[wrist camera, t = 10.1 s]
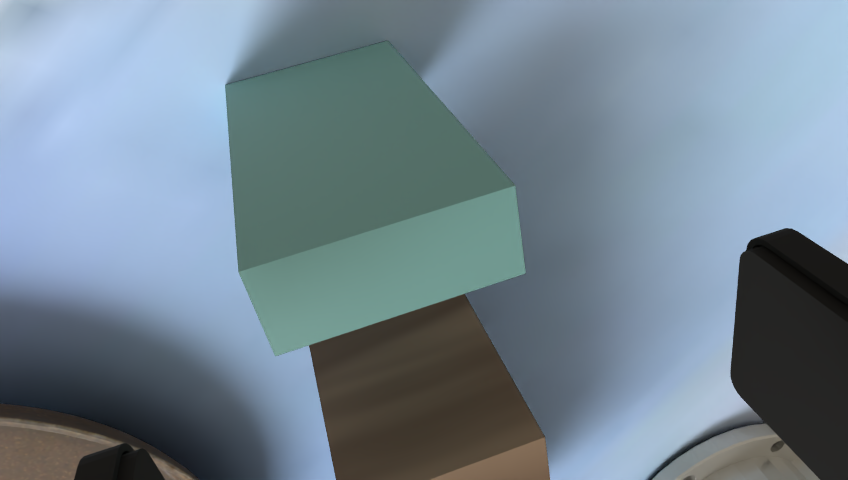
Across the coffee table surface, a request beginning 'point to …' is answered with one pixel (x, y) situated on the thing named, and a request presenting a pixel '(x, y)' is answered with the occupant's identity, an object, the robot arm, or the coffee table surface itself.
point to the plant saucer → (63, 445)
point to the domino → (425, 401)
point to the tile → (360, 197)
